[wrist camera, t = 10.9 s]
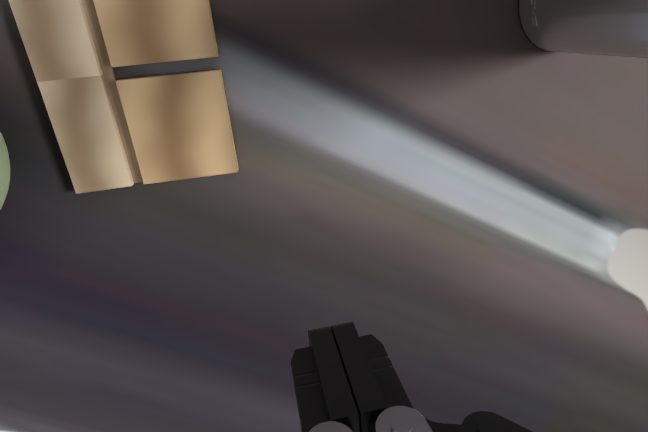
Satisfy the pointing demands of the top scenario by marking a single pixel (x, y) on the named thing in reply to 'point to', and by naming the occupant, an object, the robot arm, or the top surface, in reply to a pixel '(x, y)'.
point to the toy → (4, 171)
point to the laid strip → (79, 91)
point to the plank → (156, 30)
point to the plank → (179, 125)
